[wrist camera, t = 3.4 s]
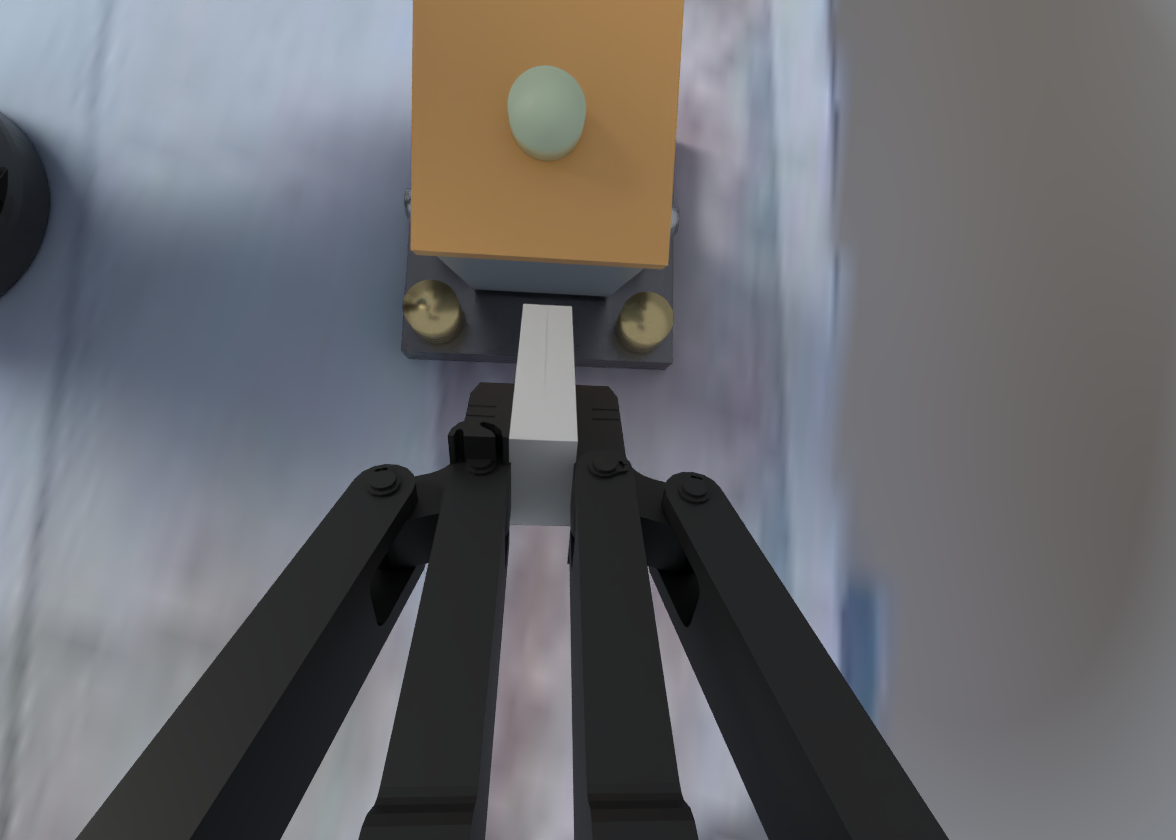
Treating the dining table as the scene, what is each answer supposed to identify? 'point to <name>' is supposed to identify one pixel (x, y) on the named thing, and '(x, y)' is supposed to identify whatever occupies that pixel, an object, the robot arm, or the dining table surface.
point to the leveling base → (493, 318)
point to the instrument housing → (544, 140)
